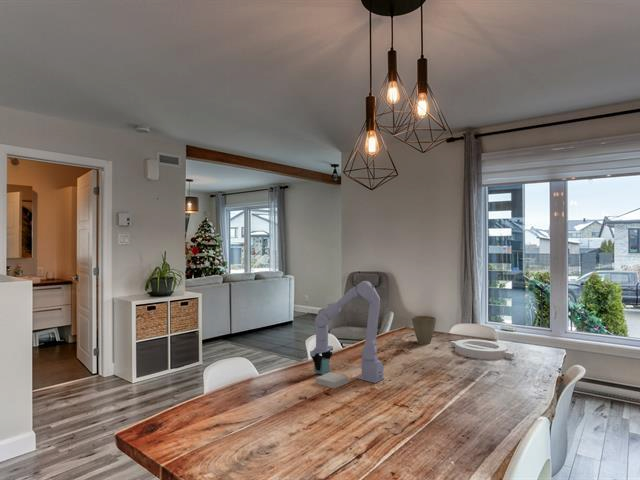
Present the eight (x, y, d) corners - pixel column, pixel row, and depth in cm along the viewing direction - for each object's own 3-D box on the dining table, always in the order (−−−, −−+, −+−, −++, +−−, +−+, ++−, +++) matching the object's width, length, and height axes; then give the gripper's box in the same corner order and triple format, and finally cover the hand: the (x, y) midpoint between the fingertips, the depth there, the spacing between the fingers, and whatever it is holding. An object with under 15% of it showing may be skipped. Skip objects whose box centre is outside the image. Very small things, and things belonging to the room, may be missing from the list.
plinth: (348, 382, 173) (348, 376, 173) (334, 388, 165) (334, 382, 166) (330, 377, 180) (330, 372, 180) (316, 383, 172) (316, 377, 172)
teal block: (329, 372, 184) (329, 359, 185) (322, 374, 181) (322, 361, 181) (321, 369, 188) (321, 357, 188) (314, 372, 184) (314, 359, 184)
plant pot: (421, 339, 260) (421, 314, 260) (440, 343, 249) (440, 318, 249) (406, 342, 251) (407, 317, 251) (426, 346, 239) (426, 320, 240)
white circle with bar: (449, 346, 242) (449, 338, 242) (495, 347, 241) (495, 339, 241) (463, 359, 214) (463, 350, 214) (516, 360, 213) (516, 351, 213)
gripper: (325, 335, 193) (324, 363, 192) (305, 340, 182) (305, 370, 181) (336, 337, 188) (336, 366, 188) (316, 343, 177) (316, 373, 177)
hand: (321, 368), depth 184 cm, fingers closed on teal block, 5 cm apart
